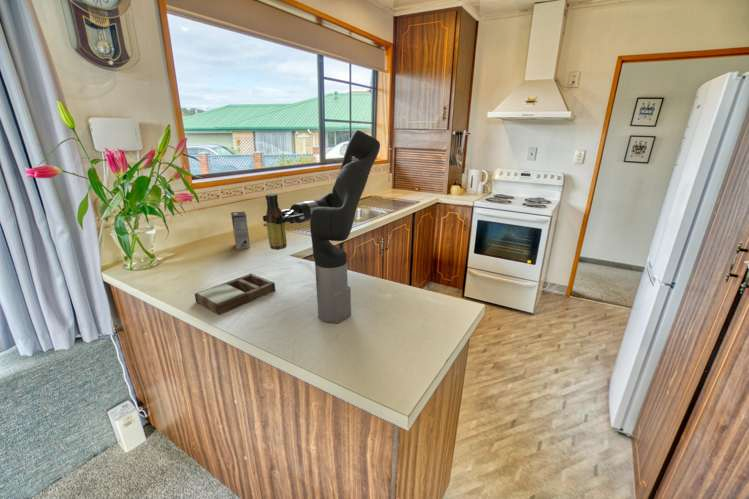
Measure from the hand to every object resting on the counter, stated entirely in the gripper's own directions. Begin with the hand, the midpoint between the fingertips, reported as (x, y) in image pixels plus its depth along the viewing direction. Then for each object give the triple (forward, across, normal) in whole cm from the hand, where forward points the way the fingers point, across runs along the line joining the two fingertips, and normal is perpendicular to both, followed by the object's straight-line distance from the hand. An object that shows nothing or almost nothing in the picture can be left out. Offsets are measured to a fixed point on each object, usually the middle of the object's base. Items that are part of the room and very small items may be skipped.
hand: (269, 220), depth 121 cm
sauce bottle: (-2, 0, +11) cm, 11 cm away
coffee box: (-16, -47, +23) cm, 55 cm away
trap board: (+16, 0, +23) cm, 28 cm away
